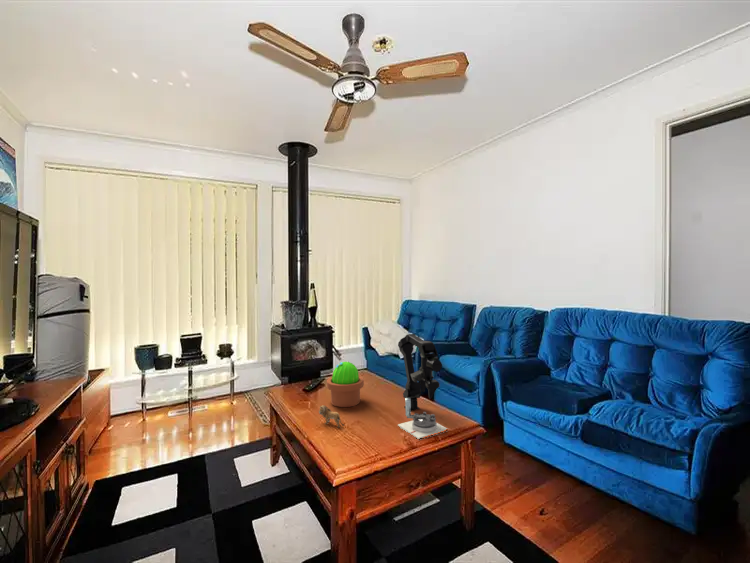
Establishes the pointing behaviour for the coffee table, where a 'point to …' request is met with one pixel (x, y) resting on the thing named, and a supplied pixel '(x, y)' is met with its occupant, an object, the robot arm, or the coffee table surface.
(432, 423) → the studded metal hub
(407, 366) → the robot arm
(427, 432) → the mounting plate
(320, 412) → the lion figurine
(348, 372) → the potted cactus
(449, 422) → the coffee table surface
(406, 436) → the coffee table surface
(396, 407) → the coffee table surface
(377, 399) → the coffee table surface
